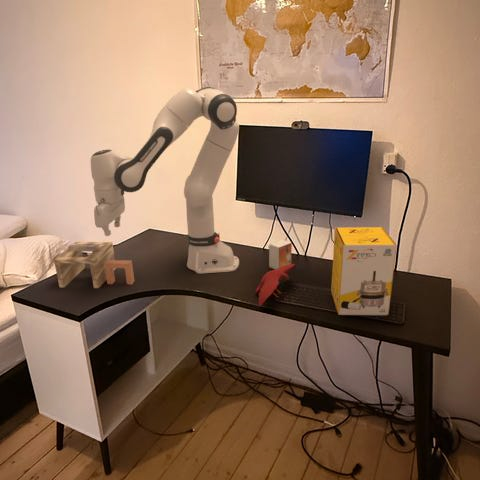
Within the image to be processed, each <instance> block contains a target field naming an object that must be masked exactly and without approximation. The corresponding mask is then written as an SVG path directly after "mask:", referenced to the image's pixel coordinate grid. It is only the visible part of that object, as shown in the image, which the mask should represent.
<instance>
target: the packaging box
mask: <svg viewBox="0 0 480 480" xmlns="http://www.w3.org/2000/svg"><path fill="white" fill-rule="evenodd" d="M397 247H398V246H397V243H396V242H395V241H394V240H393V238H392V237H391V236H390V235H389V233H388V232H387V230H386V229H385V228H384V227H383V226H379V227H378V226H377V227H376V226H375V227H374V226H373V227H371V226H369V227H361V226H358V227H357V226H356V227H355V226H354V227H346V226H345V227H335V228H334V238H333V255H332V270H331V271H332V272H331V273H332V274H331V285H330V286H331V289H330V291H331V296H332V297H333V298H332V299H333V302H334V304H335V309H336V311H337V314H338V316H339V315H340V316H389V314H390V313H389V312H390V304H391V297H392V288H393V281H394V280H393V279H394V271H395V263H396V254H397Z"/></svg>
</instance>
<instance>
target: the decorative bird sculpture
mask: <svg viewBox="0 0 480 480" xmlns="http://www.w3.org/2000/svg"><path fill="white" fill-rule="evenodd" d="M295 266H296V263H291V264H290V265H286V266H282V267H280V268H279V269H272V270H270V271H267V272H266V273H265V274H264V275H263V276H262V278H261V281H260V283H259V284H258V286H257V288H256V289H255V294H258V296H259V297H258V303H257V304H258V305H259V307H261V306H262V305H263V304H264V303H266V301H267V299H268V298H269V297H270V296H271V295H274V296H276V298H280V295H281V294H282V293H283V291H279V290H278V285H279V284H280V281H281V280H282V279H283V278H285V279H286V280H289V275H288V274H287V273H289V272H290V271H291V270H292V269H293V267H295ZM274 291H277V292H278V294H279V295H277V294H276V293H275V292H274Z"/></svg>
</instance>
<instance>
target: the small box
mask: <svg viewBox="0 0 480 480" xmlns="http://www.w3.org/2000/svg"><path fill="white" fill-rule="evenodd" d="M292 244H293V243H292V242H291V241H288V240H285V239H280V240H277V241H275V242H273V243H269V244H268V245H269V246H268V247H269V248H268V250H269V253H268V255H269V256H268V258H269V259H268V264H269V266H268V267H269V268H271V269H272V270H275V269H279V268H280V267H282V266H286V265H290V264H292V247H293V246H292Z"/></svg>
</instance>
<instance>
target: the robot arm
mask: <svg viewBox="0 0 480 480" xmlns="http://www.w3.org/2000/svg"><path fill="white" fill-rule="evenodd" d="M237 112H238V106H237V103H236V101H235V100H234V99H233V98H232V96H231V95H229V94H227V93H225V91H222V90H221V89H216V88H214V87H211V86H210V87H208V86H206V87H202V88H199V89H197V90H194V89H192V88H190V87H185V88H182V89H180V91H178V92H177V93H176V94H175V95H173V96H172V98H170V99H169V100H168V102H166V103H165V104H164V106H163V107H162V109H161V110H160V111H159V113H158V114H157V115H156V117H155V119H154V122H153V125H152V130H151V132H150V135H149V138H148V139H147V141H146V142H145V143H144V144H143V146H142V147H141V148H140V150H139V151H138V152H137V154H136V155H135V156H134V157H128V156H126V155H121V154H120V153H117V152H115V151H113V150H112V149H102V150H99V151H96V152H95V153H93V154H92V155H91V157H90V172H91V178H92V180H93V191H94V197H95V202H96V206H94V209H93V216H94V218H93V219H94V225H95V227H96V228H98V229H99V228H100V229H102V230H103V233H104V236H105V237H109V236H111V235H112V232H111V230H110V228H109V227H110V224H111V223H112V222H114V223H113V224H114V228H119V227H121V218H122V216H121V215H122V214H123V213H124V212H125V210H126V209H125V208H126V205H125V196H124V195H125V192H126V193H134V192H137V191H139V190H140V189H142V188H143V187H144V185H145V182H146V178H147V175H148V172H149V171H150V169H151V168H152V167H153V165H154V164H155V163H156V161H158V159H159V158H161V157H160V156H161V155H162V154H163V153H164V152H165V151H166V149H168V148H169V147H170V146H171V145H173V144H174V142H175V141H177V140H178V139H179V138H180V137H181V136H182V135H183V134H184V133H185V132H186V131H187V130H188V129H189V128H190V126H191V125H192V124H193V123H194V121H196V120H197V119H199V118H200V117H204V118H205V119H206V120H208V121H210V128H209V131H208V133H207V135H206V137H205V139H204V141H203V143H202V146H201V148H200V151H199V152H198V155H197V157H196V160H195V162H194V164H193V167H192V169H191V172H190V173H189V175H187V176H186V179H185V182H184V188H183V195H184V198H185V204H186V208H185V209H186V225H187V234H186V240H187V247H188V255H187V256H188V257H187V261H186V262H187V263H186V267H187V268H188V269H189V270H192V271H194V272H195V273H196V274H212V273H229V272H234V271H236V270H238V268H239V266H240V259H239V258H238V256H236V255H234V252H233V249H232V247H231V246H229V245H227V244H225V242H223V241H221V240H220V239H221V238H220V232H216V231H215V217H214V215H215V214H214V203H213V202H214V201H213V200H214V199H213V194H214V192H215V190H216V187H217V185H218V183H219V179H220V178H221V175H222V172H223V169H224V167H225V165H226V163H227V161H228V159H229V157H230V155H231V152H232V150H233V148H234V147H235V144H236V141H237V138H238V135H239V132H240V125H239V123H238V121H237V115H238V114H237Z"/></svg>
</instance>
